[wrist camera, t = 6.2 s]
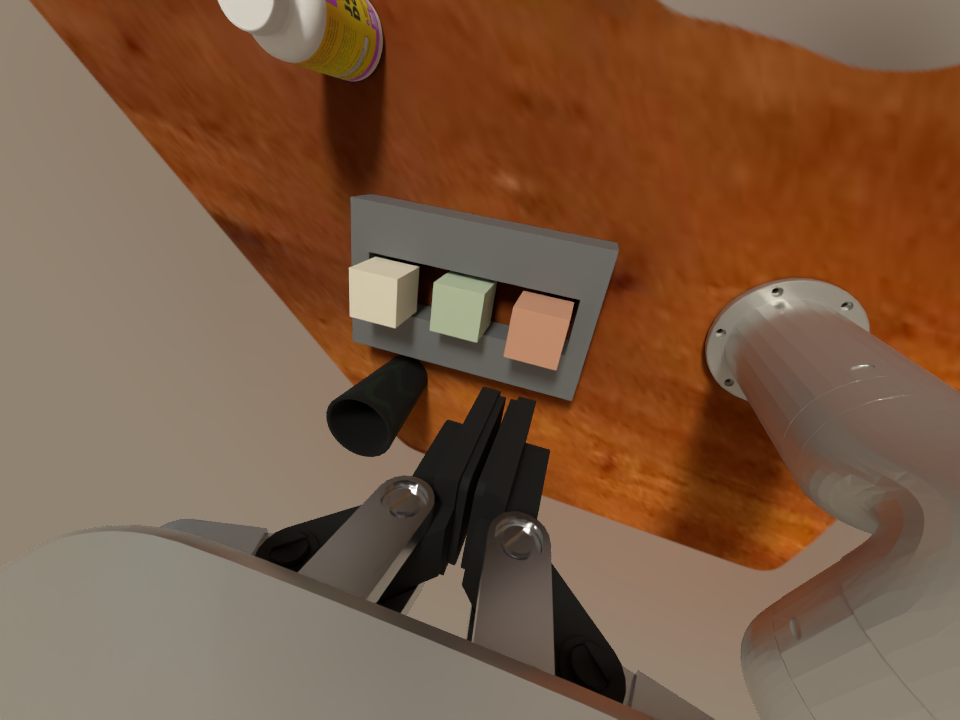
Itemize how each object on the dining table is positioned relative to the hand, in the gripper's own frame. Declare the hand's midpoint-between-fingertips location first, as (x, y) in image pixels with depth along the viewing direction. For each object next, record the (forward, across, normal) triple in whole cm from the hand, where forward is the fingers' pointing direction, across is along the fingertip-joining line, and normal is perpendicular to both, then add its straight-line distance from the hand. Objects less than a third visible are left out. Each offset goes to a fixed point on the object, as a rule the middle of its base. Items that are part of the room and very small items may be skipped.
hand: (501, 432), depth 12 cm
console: (+31, +9, +7) cm, 33 cm away
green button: (+29, +9, +7) cm, 31 cm away
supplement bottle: (+31, +24, -14) cm, 42 cm away
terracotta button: (+28, +1, +7) cm, 28 cm away
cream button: (+28, +17, +7) cm, 33 cm away
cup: (+31, +17, +20) cm, 41 cm away
